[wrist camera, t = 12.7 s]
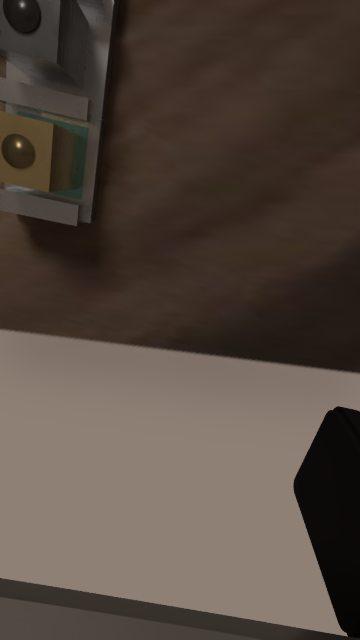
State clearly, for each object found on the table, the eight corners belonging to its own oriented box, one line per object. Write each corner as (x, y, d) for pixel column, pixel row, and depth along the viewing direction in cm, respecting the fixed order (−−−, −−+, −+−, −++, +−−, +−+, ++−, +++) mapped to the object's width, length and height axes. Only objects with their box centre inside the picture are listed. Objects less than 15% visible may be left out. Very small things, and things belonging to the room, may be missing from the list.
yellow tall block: (79, 135, 30) (52, 123, 23) (74, 189, 32) (47, 192, 25) (26, 122, 30) (-16, 106, 23) (24, 178, 31) (-17, 178, 25)
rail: (134, -140, 25) (126, -211, 21) (94, 220, 35) (82, 227, 30) (23, -174, 25) (-12, -256, 20) (13, 203, 34) (-12, 208, 29)
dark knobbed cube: (88, 22, 27) (61, -28, 21) (83, 88, 29) (55, 62, 22) (30, 7, 27) (-17, -49, 20) (28, 75, 28) (-17, 44, 22)
